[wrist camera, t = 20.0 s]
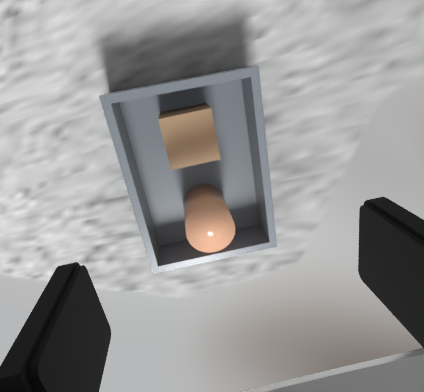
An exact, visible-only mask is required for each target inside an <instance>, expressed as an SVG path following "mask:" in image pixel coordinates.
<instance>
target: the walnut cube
mask: <svg viewBox="0 0 424 392" xmlns="http://www.w3.org/2000/svg"><path fill="white" fill-rule="evenodd" d="M158 121H159V125H160V129H161V133H162V137H163V140H164V144H165V148H166V152H167V156H168V160H169V164H170V168H171V170H175V169H179V168H184V167H188V166H193V165H197V164H202V163H206V162H211V161H215V160H220V159H221V158H220V152H219V147H218V141H217V136H216V131H215V125H214V120H213V114H212V109H211V107H210V106H209V105H208V104H206V103H202V104H197V105H192V106H188V107H183V108H178V109H174V110H169V111H164V112H160V114H159V118H158Z"/></svg>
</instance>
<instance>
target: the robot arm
mask: <svg viewBox="0 0 424 392" xmlns="http://www.w3.org/2000/svg"><path fill="white" fill-rule="evenodd" d="M358 271H359V275H360V277H361V279H362V281H363V282H364V283H365V284H366V285H367V286H368V287H369V288H370V290H371V291H372V292H373V293H374V294H375V295H376V296H377V297H378V298H379V299H380V300H381V302H382V303H383V304H384V305H385V306H386V307H387V308H388V309H389V310H390V311H391V312H392V314H393V315H394V316H395V317H396V318H397V319H398V320H399V321H400V322H401V323H402V325H403V326H404V327H405V328H406V329H407V330H408V331H409V332H410V333H411V334H412V336H413V337H414V338H415V339H416V340H417V341H418V342H419V343H420V344H421V346H422V347H423V348H422V349H418V350H413V351H409V352H405V353H400V354H396V355H391V356H387V357H383V358H379V359H375V360H370V361H366V362H362V363H357V364H353V365H349V366H345V367H340V368H336V369H332V370H328V371H324V372H319V373H316V374H311V375H307V376H303V377H299V378H295V379H290V380H286V381H282V382H278V383H274V384H270V385H265V386H262V387H258V388H253V389H249V390H245V391H241V392H424V220H423V219H421V218H419V217H418V216H416V215H414V214H413V213H411V212H409V211H408V210H406V209H404V208H403V207H401V206H399V205H397V204H396V203H394V202H392V201H391V200H389V199H387V198H385V197H380V198H375V199H370V200H366V201H365V202H364V205H363V206H361V207H360V218H359V265H358ZM110 339H111V329H110V326H109V323H108V321H107V318H106V316H105V313H104V311H103V308H102V306H101V303H100V301H99V298H98V296H97V293H96V291H95V288H94V286H93V283H92V281H91V278H90V276H89V273H88V271H87V269H86V267H85V266H84V265H83V266H80V265H79V263H77V262H76V263H71V264H67V265H62V266H58V267H57V268H56V270H55V272H54V274H53V275H52V277H51V279H50V281H49V282H48V284H47V286H46V288H45V289H44V291H43V293H42V295H41V296H40V298H39V300H38V302H37V304H36V305H35V307H34V309H33V310H32V312H31V314H30V315H29V317H28V319H27V321H26V322H25V324H24V326H23V328H22V329H21V331H20V333H19V335H18V337H17V338H16V340H15V342H14V343H13V345H12V347H11V349H10V350H9V352H8V354H7V356H6V357H5V359H4V361H3V363H2V364H1V366H0V392H99V388H100V384H101V379H102V375H103V370H104V366H105V361H106V357H107V352H108V348H109V343H110Z"/></svg>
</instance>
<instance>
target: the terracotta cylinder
mask: <svg viewBox="0 0 424 392" xmlns="http://www.w3.org/2000/svg"><path fill="white" fill-rule="evenodd" d="M183 207H184V218H185V228H186V236H187V239H188V241H189V243H190V244H191V245H192V246H193V247H194V248H195V249H197V250H199V251H202V252H207V253H211V252H217V251H220V250H222V249H224V248H225V247H226V246H228V245H229V244H230V243H231V241H232V240H233V238H234V235H235V223H234V221H233V218H232V216H231V214H230V211H229V209H228V207H227V204H226V202H225V199H224V197H223V195H222V193H221V192H220V190H219V189H217V188H216V187H214V186H212V185H208V184H201V185H197V186H195V187H193V188H192V189H190V190H189V191H188V192H187V194H186V195H185V197H184V201H183Z"/></svg>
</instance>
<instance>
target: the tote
mask: <svg viewBox="0 0 424 392" xmlns="http://www.w3.org/2000/svg"><path fill="white" fill-rule="evenodd" d="M99 97H100V100H101V104H102V107H103V110H104V114H105V117H106V120H107V123H108V127H109V130H110V133H111V137H112V140H113V143H114V147H115V150H116V153H117V157H118V160H119V163H120V167H121V170H122V173H123V177H124V180H125V183H126V186H127V190H128V193H129V196H130V200H131V203H132V206H133V210H134V213H135V216H136V220H137V223H138V226H139V230H140V233H141V236H142V240H143V243H144V246H145V249H146V253H147V256H148V259H149V263H150V266H151V269H152V273H153V274H154V273H159V272H163V271H168V270H172V269H177V268H181V267H186V266H191V265H195V264H200V263H204V262H209V261H214V260H218V259H223V258H227V257H232V256H236V255H241V254H246V253H250V252H255V251H259V250H264V249H268V248H273V247H277V242H276V233H275V223H274V213H273V203H272V194H271V184H270V174H269V164H268V154H267V145H266V135H265V125H264V115H263V106H262V96H261V86H260V76H259V67H258V66H253V67H242V68H237V69H232V70H226V71H221V72H216V73H210V74H205V75H200V76H194V77H189V78H184V79H178V80H173V81H168V82H162V83H157V84H152V85H146V86H141V87H136V88H130V89H125V90H120V91H114V92H109V93H107V94H104V95H101V96H99ZM202 103H206V104H208V105H209V106H210V107H211V109H212V114H213V120H214V125H215V131H216V136H217V141H218V147H219V152H220V158H221V159H220V160H215V161H211V162H206V163H202V164H197V165H193V166H188V167H184V168H179V169H175V170H171V168H170V164H169V160H168V156H167V152H166V148H165V144H164V140H163V137H162V133H161V129H160V125H159V121H158V118H159V114H160V112H164V111H169V110H174V109H178V108H183V107H188V106H192V105H197V104H202ZM201 184H208V185H212V186H214V187H216V188H217V189H219V190H220V192H221V193H222V195H223V197H224V199H225V202H226V204H227V207H228V209H229V211H230V214H231V216H232V218H233V221H234V223H235V235H234V238H233V240H232V241H231V243H230V244H229V245H228V246H226V247H225V248H224V249H222V250H220V251H217V252H211V253H207V252H202V251H199V250H197V249H195V248H194V247H193V246H192V245H191V244H190V243H189V241H188V239H187V236H186V228H185V218H184V207H183V201H184V197H185V195H186V194H187V192H188V191H189V190H190V189H192V188H193V187H195V186H197V185H201Z"/></svg>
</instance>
